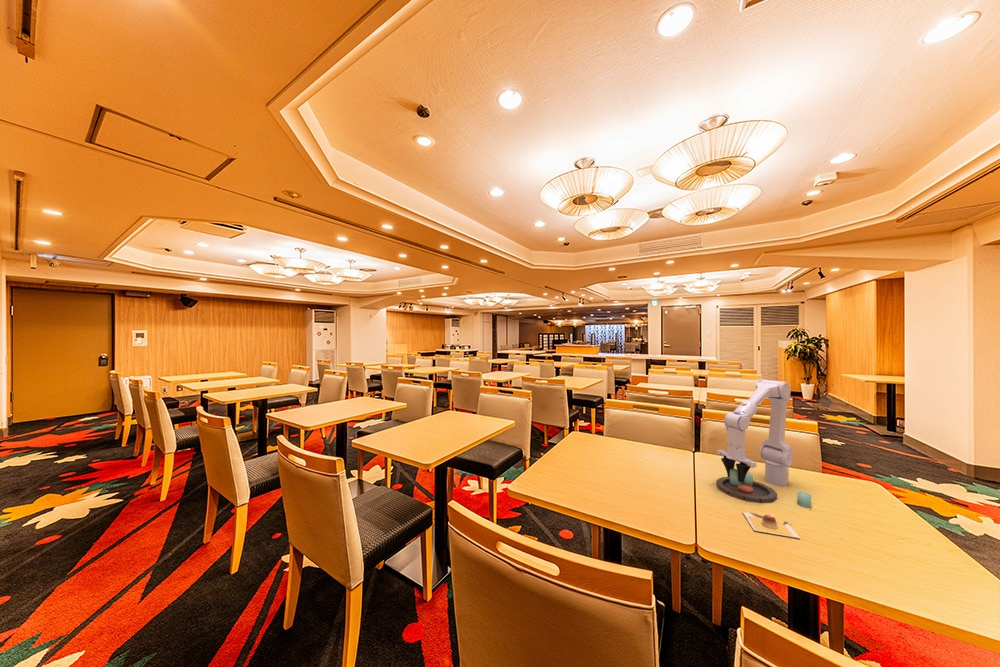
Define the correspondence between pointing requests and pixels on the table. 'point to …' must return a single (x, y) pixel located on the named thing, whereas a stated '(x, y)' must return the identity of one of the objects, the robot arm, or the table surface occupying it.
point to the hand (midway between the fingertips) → (735, 479)
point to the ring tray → (755, 497)
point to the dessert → (770, 524)
